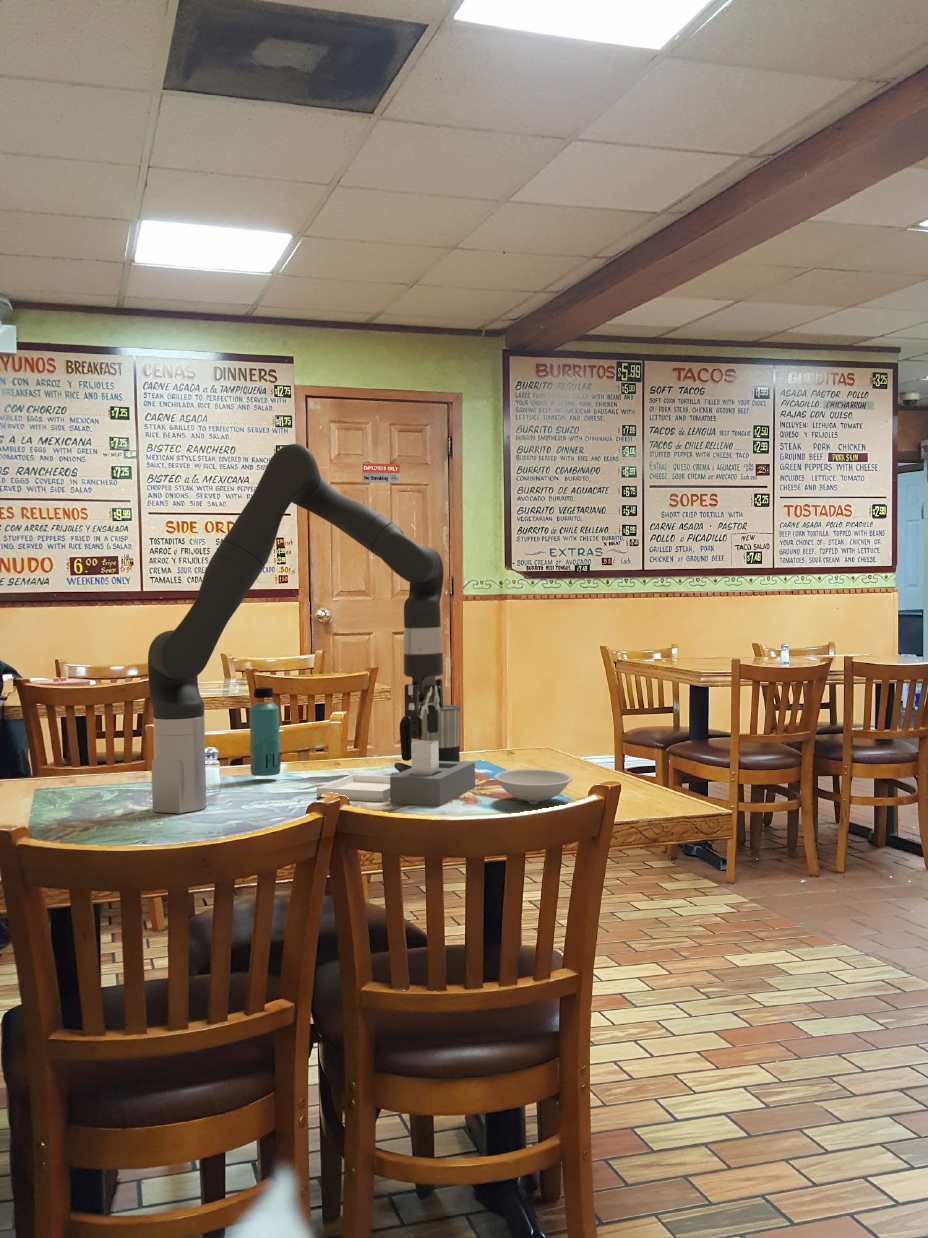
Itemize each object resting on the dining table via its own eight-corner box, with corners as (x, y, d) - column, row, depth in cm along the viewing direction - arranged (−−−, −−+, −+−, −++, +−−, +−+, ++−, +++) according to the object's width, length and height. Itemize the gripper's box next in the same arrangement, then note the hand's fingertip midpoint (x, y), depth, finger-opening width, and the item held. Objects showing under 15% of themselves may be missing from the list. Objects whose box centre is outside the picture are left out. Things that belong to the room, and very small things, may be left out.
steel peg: (431, 801, 203) (430, 743, 203) (412, 800, 204) (411, 743, 204) (439, 797, 207) (438, 740, 206) (420, 796, 208) (419, 740, 208)
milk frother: (462, 770, 239) (461, 703, 239) (460, 782, 223) (459, 711, 223) (398, 770, 239) (397, 704, 239) (392, 783, 224) (391, 712, 223)
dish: (484, 797, 207) (484, 771, 207) (556, 792, 210) (555, 767, 210) (508, 815, 190) (508, 787, 190) (585, 810, 193) (585, 782, 193)
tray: (382, 801, 204) (382, 791, 204) (316, 798, 208) (316, 787, 208) (414, 786, 219) (414, 777, 219) (352, 783, 223) (352, 774, 223)
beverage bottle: (264, 784, 225) (262, 689, 224) (243, 781, 229) (241, 687, 228) (287, 779, 230) (285, 686, 229) (266, 776, 234) (264, 685, 233)
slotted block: (440, 806, 199) (439, 779, 199) (390, 803, 202) (390, 776, 202) (475, 787, 218) (474, 762, 217) (429, 784, 221) (428, 760, 221)
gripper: (427, 653, 197) (430, 741, 198) (454, 648, 211) (456, 731, 211) (390, 653, 200) (392, 740, 200) (418, 648, 213) (420, 730, 214)
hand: (425, 735), depth 206 cm, fingers open, 8 cm apart
